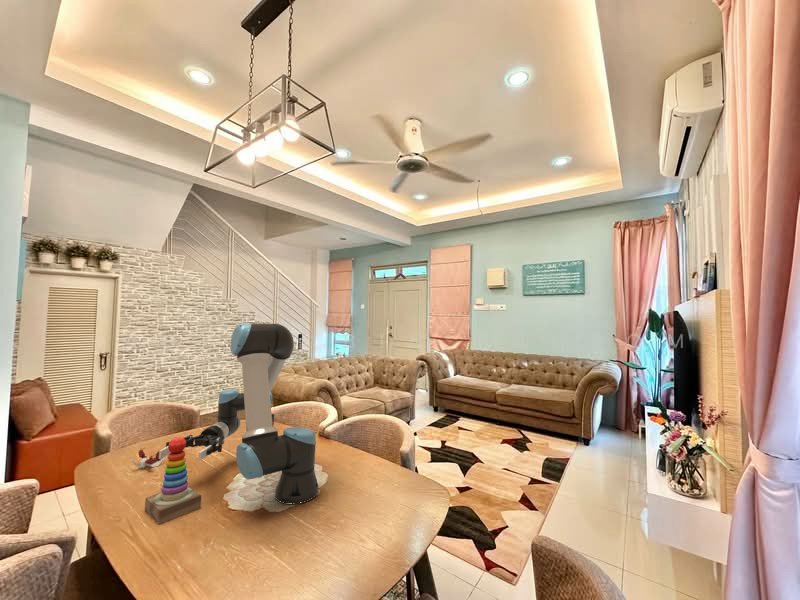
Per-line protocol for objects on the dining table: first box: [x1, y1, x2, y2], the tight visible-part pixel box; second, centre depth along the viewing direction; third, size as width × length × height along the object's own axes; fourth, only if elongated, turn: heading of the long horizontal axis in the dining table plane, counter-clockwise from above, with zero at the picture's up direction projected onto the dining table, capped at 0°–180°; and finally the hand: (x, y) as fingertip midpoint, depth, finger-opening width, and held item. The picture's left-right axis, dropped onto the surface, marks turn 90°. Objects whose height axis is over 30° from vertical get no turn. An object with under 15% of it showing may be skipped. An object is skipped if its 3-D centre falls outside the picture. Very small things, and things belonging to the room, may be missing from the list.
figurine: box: [132, 447, 167, 469], centre depth 143 cm, size 15×12×7 cm
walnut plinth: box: [144, 485, 202, 525], centre depth 113 cm, size 12×12×4 cm
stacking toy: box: [160, 436, 189, 501], centre depth 114 cm, size 8×8×19 cm
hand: (179, 455), depth 116 cm, fingers open, 13 cm apart
